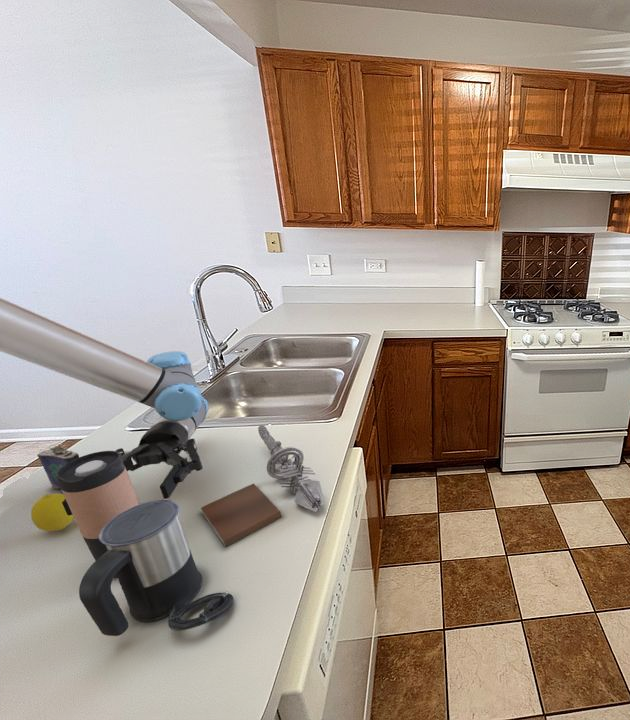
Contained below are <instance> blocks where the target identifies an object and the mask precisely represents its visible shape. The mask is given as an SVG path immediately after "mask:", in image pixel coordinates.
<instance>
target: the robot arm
mask: <svg viewBox="0 0 630 720" xmlns="http://www.w3.org/2000/svg"><path fill="white" fill-rule="evenodd" d="M0 352H2V353H4V354H7V355H9V356H13V357H15V358H18V359H20V360H23V361H26V362H28V363H30V364H31V363H32V364H33V365H36V366H40V367H42V368H45V369H48V370H50V371H53V372H56V373H59V374H61V375H64V376H67V377H69V378H71V379H74V380H78V381H80V382H82V383H85V384H88V385H91V386H94V387H97V388H99V389H102V390H105V391H107V392H109V393H112V394H115V395H118V396H120V397H123V398H126V399H129V400H131V401H134V402H137V403H140V404H142V405H145V406H148V407H150V408H153V409H155V412H156V413H157V414H158V415H159V417H158V419H157V420H156V421H155V422H154V423H153V424H152V425H151V426H150V427H149V429H148V430H147V431H146V432H145V433H143V435H142V437H141V438H140V439H139V443H138V446H136V447H134V448H133V449H131V450H128V451H125V450H124V448H122V447H120V448H118V449H115V450H114V451H115V452H118V453H119V454H120V456H121V458H122V461H123V463H124V466H125V468H126V471H127V472H129V471H131V472H134V471H137V470H138V469H140V468H142V467H146V466H149V465H158V464H159V465H160V464H161V463H165V464H167V465H168V466H171V467H172V468H171V469H170V470H169V471H168V473H167V475H166V476H165V478H164V479H163V481H162V482H161V484H160V485H159V490H160V492H161V494H162V498H163V500H168V499H170V498H171V496H172V494H173V492H174V491H175V490H176V488H177V486H178V485H179V484H181V483H183V482H184V481H185V479H186V478H187V477H188V475H189V474H191V473H192V471H196V472H199V471H202V470H203V469H204V468H203V463H202V461H201V457H200V455H199V453H198V446H197V443H196V440H195V438H192V436H193V435H194V434H195V432H196V431H197V429H198V428H199V427H200V425H201V424H202V423H203V422H204V421H205V420H206V417H207V414H208V413H209V407H210V406H209V402H208V401H207V399H206V398H205V397H203V396H202V393H201V390H200V388H199V386H198V385H197V381H196V378H195V376H194V373H193V372H194V371H193V369H192V363H191V362H190V360H189V357H188V354H187V353H186V352H183V351H177V350H173V351H165V352H161V353H157V354H154V355H152V356H150V357H149V358H148V359H147V361H146V360H143V359H142V358H139V357H137V356H135V355H132V354H130V353H128V352H126V351H123V350H121V349H118V348H116V347H114V346H112V345H110V344H107V343H105V342H102V341H100V340H98V339H96V338H93V337H91V336H89V335H87V334H85V333H82V332H79V331H77V330H76V329H73V328H71V327H68V326H66V325H64V324H62V323H60V322H57V321H55V320H52V319H50V318H48V317H47V316H46V317H45V316H43V315H41V314H39V313H37V312H34V311H32V310H29V309H27V308H25V307H23V306H20V305H18V304H16V303H14V302H11V301H9V300H6V299H4V298H2V297H0ZM182 451H183V452H184V453H186V455H188V457H189V460H190V461H189V460H188V458H187V456H186V457H183V456H181V455H180V454H181V453H182ZM133 461H134V462H135V463H134V462H133ZM62 504H63V506H64V508H65V511H66V513H67V515H68V516H69V515H73V514H72V512H71V510H70V508H69V505H68V503H67V501H66V499H65V500H64V501H63V502H62Z"/></svg>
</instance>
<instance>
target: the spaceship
mask: <svg viewBox="0 0 630 720" xmlns="http://www.w3.org/2000/svg"><path fill="white" fill-rule="evenodd" d="M257 431H258V435H259V437H260V439H261V440H262V442H263V443H264V444H265V446H266V447H267V449H268V450H269V454H270V455H271V456H270V458H269V460H268V461H267V464H266V472H267V474H268V476H269V477H270V478H272V479H276V482H278V484H279V485H280V487H281V488H288V489H290V491H291V492H292V493H293V495H295V498H294V503H295V504H297V505H299V506H301V507H303V508H305V509H307V510H310V511H312V512H317V511H318V510H320V511H322V509H321V506H323V505H324V498H323V497H324V495H323V494H324V493H323V491H322V487H321V483H320V480H313V479H311V478H309V476H308V475H316V473H315V472H314V471H313V470H312V468H311V467H306V466H305V465H303V463H304V458H305V457H304V452H303V451H302V450H301V449H300V448H298V447H296V446H286V447H283V446H282V442H281V441H280V440H277V441H276V440H275V438H274V437H273V435H271V433H270V431H269V430H268V428H267V427H266V426H265V425H263V424H259V425H258V427H257ZM289 456H291V457H290V458H289ZM277 465H280V466H279V467H277ZM303 475H306V476H303ZM287 478H290V479H287Z"/></svg>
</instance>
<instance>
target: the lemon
mask: <svg viewBox="0 0 630 720" xmlns="http://www.w3.org/2000/svg"><path fill="white" fill-rule="evenodd" d="M64 500H65V496H64V494H63V493H49V494H48V493H47V494H44V495H43V496H42V497H40V498H39V499H38V500H36V501H35V502H34V504H33V505H32V506H31V510H30V516H31V521H32V523H33V525H35V527H37V528H38V529H39V530H42V531H44V532H55V531H63V530H64V529H65V528H66V527H67V526H68V525H69V524H71V523H72V522H73V521H74V520H75V519H74V517H73V515H69V516H68V515H67V513H66V511H65V508H64V506H63V504H62V502H63V501H64Z"/></svg>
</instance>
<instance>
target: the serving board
mask: <svg viewBox="0 0 630 720" xmlns="http://www.w3.org/2000/svg"><path fill="white" fill-rule="evenodd" d="M200 510H201V513H202V515H203V517H204V518H205V520H206V521H207V522H208V524H209V526H210V527H211V528H212V530H213V531H214V533H215V535H216V536H217V537H218V539H219V540H220V541H221V543H222V545H223V546H224V547H225V548H227V547H229V546H231V545H232V544H235V543H236V542H238V541H240V540H241V539H244V538H246V537H247V536H249V535H251V534H253V533H255V532H256V531H258V530H260V529H262V528H264V527H266V526H268V525H269V524H271V523H273V522H276V521H277V520H279V519H281V518H282V513H281V510H279V508H278V507H277V506H276V505H275V504H274V502H272V501H271V500H270V499H269V498H268V496H267V495H265V494H264V492H262V491H261V489H260V488H259V487H258V486H257V485H256V484H255V483H254V482H253V483H251V484H249V485H246V486H245V487H242V488H241V489H238V490H236V491H234V492H232V493H229V494H227V495H225V496H223V497H221V498H219V499H216V500H214V501H212V502H210V503H208V504H205V505H203V506H201V507H200Z"/></svg>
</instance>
